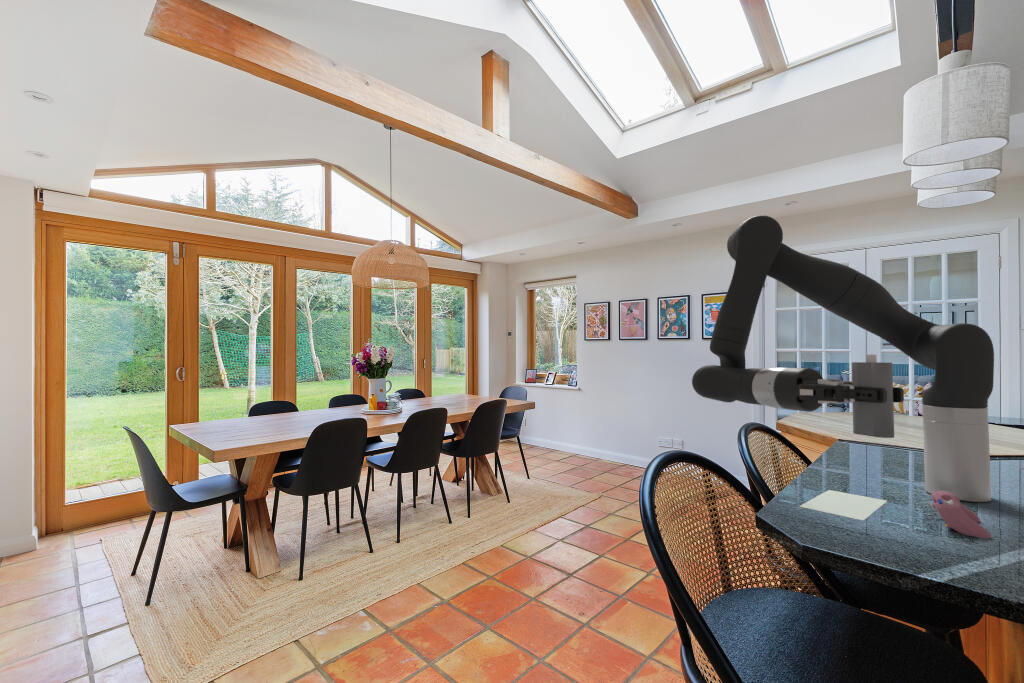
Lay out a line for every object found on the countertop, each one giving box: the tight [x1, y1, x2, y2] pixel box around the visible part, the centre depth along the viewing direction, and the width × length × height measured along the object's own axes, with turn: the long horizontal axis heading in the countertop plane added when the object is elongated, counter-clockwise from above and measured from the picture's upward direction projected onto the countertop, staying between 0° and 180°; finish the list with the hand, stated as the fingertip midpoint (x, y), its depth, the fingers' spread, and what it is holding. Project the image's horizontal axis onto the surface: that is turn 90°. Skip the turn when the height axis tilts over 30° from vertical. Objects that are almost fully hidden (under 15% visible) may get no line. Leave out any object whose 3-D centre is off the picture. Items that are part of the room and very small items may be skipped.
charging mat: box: [798, 489, 888, 522], centre depth 81 cm, size 16×9×1 cm, turn 130°
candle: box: [851, 354, 895, 439], centre depth 70 cm, size 5×3×12 cm, turn 20°
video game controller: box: [929, 491, 992, 539], centre depth 70 cm, size 10×5×7 cm, turn 142°
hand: (893, 395), depth 67 cm, fingers closed on candle, 3 cm apart
